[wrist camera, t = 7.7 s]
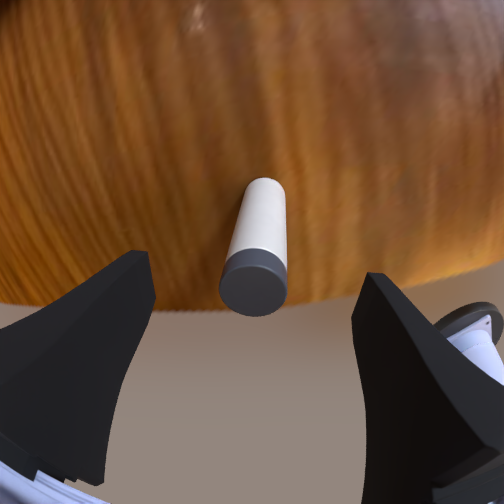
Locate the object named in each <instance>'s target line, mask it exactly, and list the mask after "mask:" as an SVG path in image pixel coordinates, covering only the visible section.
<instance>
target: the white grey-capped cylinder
mask: <svg viewBox="0 0 504 504" xmlns="http://www.w3.org/2000/svg"><path fill="white" fill-rule="evenodd" d="M219 293H220V296H221V298H222V300H223V302H224V303H225V304H226V305H227V306H228V307H229V308H230V309H232V310H233V311H235V312H237V313H239V314H242V315H245V316H252V317H258V316H265V315H269V314H271V313H273V312H275V311H276V310H278V309H279V308H280V307H281V306H282V305H283V303H284V302H285V300H286V297H287V242H286V208H285V192H284V190H283V188H282V186H281V185H280V184H279V183H278V182H277V181H275V180H273V179H270V178H259V179H256V180H254V181H252V182H251V183H250V184H249V185H248V186H247V188H246V190H245V194H244V197H243V201H242V204H241V208H240V211H239V215H238V218H237V222H236V225H235V229H234V232H233V236H232V239H231V243H230V247H229V250H228V254H227V257H226V261H225V265H224V268H223V272H222V276H221V279H220V283H219Z"/></svg>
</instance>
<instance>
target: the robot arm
mask: <svg viewBox="0 0 504 504" xmlns="http://www.w3.org/2000/svg"><path fill="white" fill-rule="evenodd" d="M155 299H156V296H155V291H154V285H153V280H152V274H151V269H150V263H149V256H148V252H146V251H137V250H131V251H129V252H127V253H126V254H124V255H122V256H121V257H119V258H118V259H116V260H115V261H114V262H112V263H111V264H109V265H108V266H106V267H105V268H103V269H102V270H101V271H99V272H98V273H96V274H95V275H93V276H92V277H91V278H89V279H88V280H86V281H85V282H83V283H82V284H80V285H79V286H77V287H76V288H74V289H73V290H71V291H70V292H68V293H67V294H65V295H64V296H62V297H61V298H59V299H58V300H56V301H54V302H53V303H51V304H49V305H48V306H46V307H44V308H42V309H41V310H39V311H37V312H35V313H33V314H31V315H29V316H28V317H25V318H23V319H21V320H19V321H17V322H15V323H13V324H11V325H9V326H7V327H4V328H2V329H0V504H111V503H108V502H105V501H103V500H100V499H97V498H95V497H93V496H90V495H88V494H86V493H83V492H81V491H79V490H77V489H74V488H72V487H70V486H68V485H66V484H64V480H65V478H66V479H68V480H71V481H73V482H76V480H77V479H79V480H81V481H84V482H86V483H88V484H91V485H94V486H98V485H100V484H102V483H104V473H105V463H106V453H107V446H108V441H109V435H110V429H111V424H112V420H113V415H114V411H115V407H116V403H117V399H118V396H119V392H120V389H121V385H122V382H123V380H124V377H125V374H126V372H127V370H128V367H129V365H130V363H131V360H132V358H133V356H134V354H135V351H136V349H137V347H138V345H139V342H140V340H141V338H142V336H143V334H144V331H145V329H146V327H147V325H148V322H149V319H150V316H151V313H152V310H153V306H154V303H155ZM351 320H352V333H353V344H354V349H355V354H356V359H357V364H358V369H359V374H360V379H361V384H362V390H363V394H364V402H365V410H366V467H365V480H364V488H363V496H362V502H361V504H504V365H503V363H502V361H501V359H500V356H499V354H498V352H497V350H496V348H495V346H494V344H493V342H492V331H491V317H490V315H486V316H484V317H483V318H481V319H479V320H478V321H476V322H474V323H473V324H471V325H469V326H468V327H466V328H464V329H463V330H461V331H459V332H457V333H456V334H454V335H452V336H450V337H448V338H445V337H444V336H443V335H442V334H441V333H440V332H439V331H438V330H437V329H436V328H435V327H434V326H433V325H432V324H431V323H430V322H429V321H428V320H427V319H426V318H425V317H424V315H423V314H422V313H421V312H420V311H419V310H418V309H417V308H416V307H415V306H414V305H413V304H412V302H411V301H410V300H409V299H408V298H407V297H406V296H405V295H404V294H403V293H402V292H401V290H400V289H399V288H398V287H397V286H396V285H395V284H394V283H393V282H392V281H391V280H390V279H389V278H388V277H387V276H386V275H385V274H383V273H371V272H367V274H366V277H365V280H364V283H363V286H362V289H361V292H360V295H359V297H358V300H357V303H356V306H355V308H354V311H353V314H352V317H351Z"/></svg>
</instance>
